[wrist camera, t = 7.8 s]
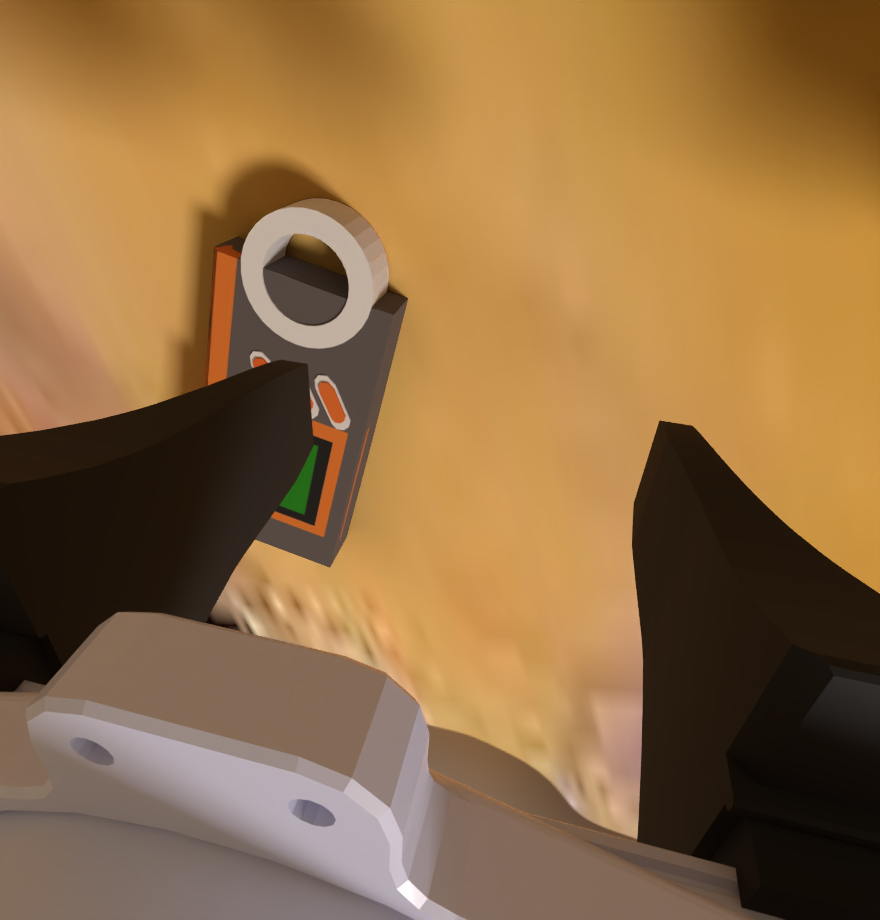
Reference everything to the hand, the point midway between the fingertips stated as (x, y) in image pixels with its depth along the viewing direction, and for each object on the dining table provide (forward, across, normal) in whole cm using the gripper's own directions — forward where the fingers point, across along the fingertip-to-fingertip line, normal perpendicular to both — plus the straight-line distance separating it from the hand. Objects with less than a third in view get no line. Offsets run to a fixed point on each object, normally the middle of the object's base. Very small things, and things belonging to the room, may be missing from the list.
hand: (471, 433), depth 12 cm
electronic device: (+10, +8, +5) cm, 14 cm away
